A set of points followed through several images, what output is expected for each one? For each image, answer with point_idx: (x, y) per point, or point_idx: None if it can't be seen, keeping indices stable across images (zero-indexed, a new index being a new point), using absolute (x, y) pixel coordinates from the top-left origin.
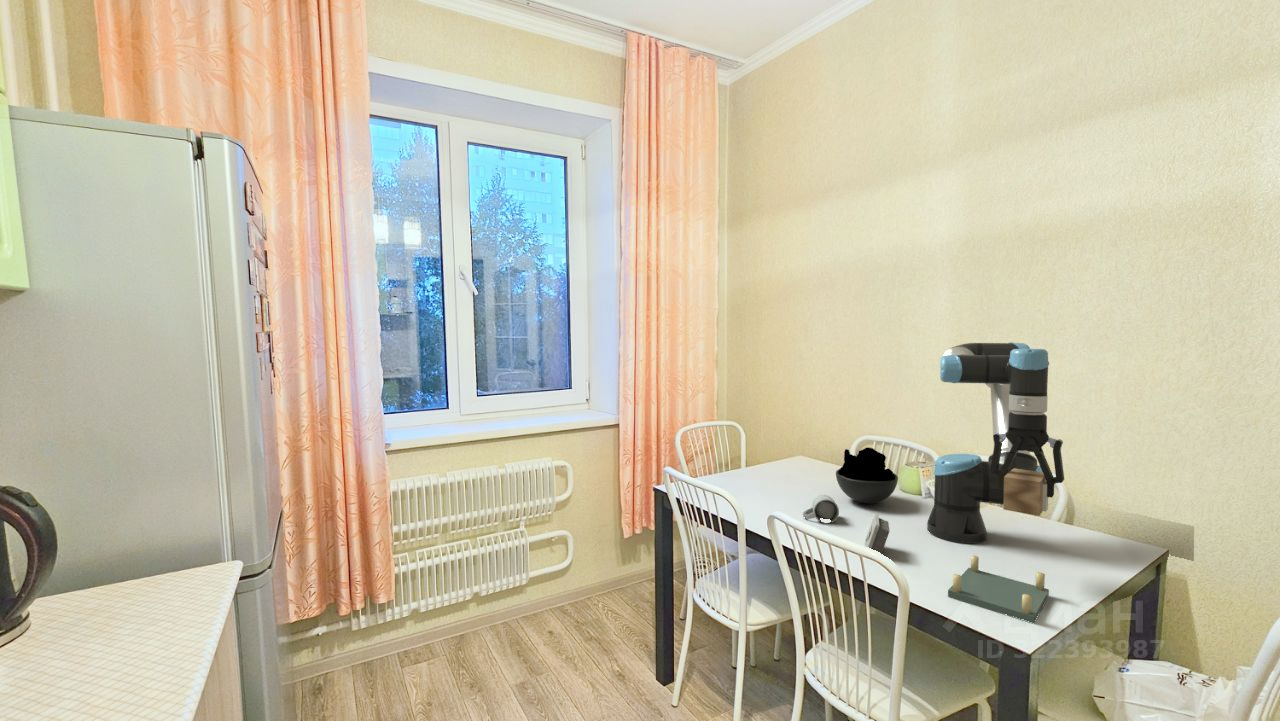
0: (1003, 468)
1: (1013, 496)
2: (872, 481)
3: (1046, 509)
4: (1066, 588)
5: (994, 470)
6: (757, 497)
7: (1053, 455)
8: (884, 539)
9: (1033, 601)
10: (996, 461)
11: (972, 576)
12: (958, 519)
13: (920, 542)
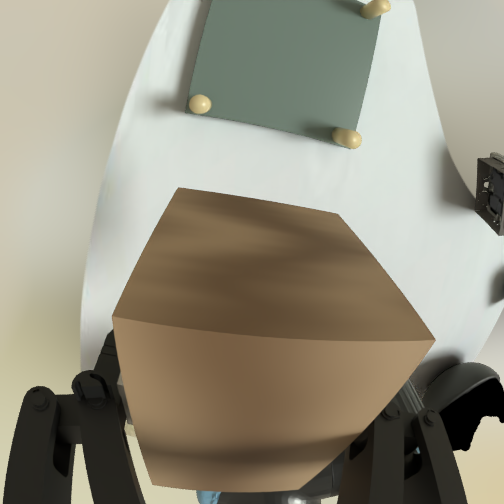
0: (394, 451)
1: (318, 242)
2: (470, 389)
3: None
4: (155, 178)
5: (426, 422)
6: None
7: None
8: (498, 168)
9: (219, 27)
10: (439, 476)
11: (343, 98)
12: None
13: (413, 268)
